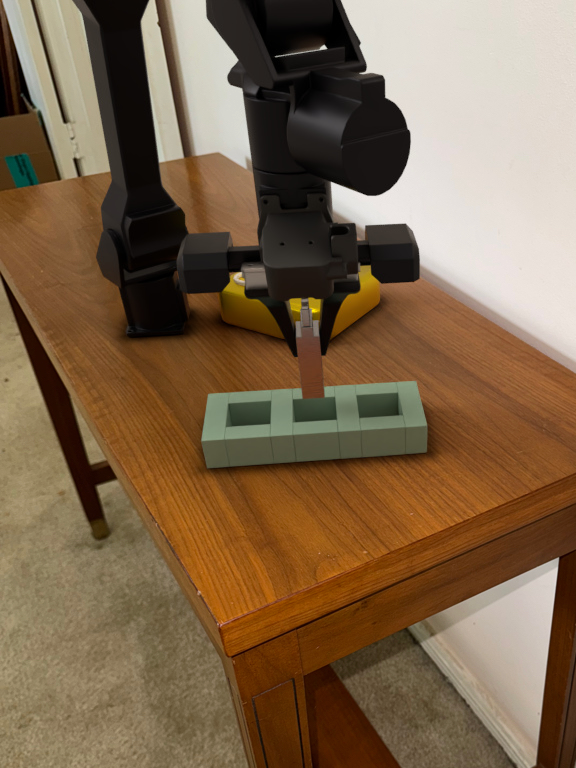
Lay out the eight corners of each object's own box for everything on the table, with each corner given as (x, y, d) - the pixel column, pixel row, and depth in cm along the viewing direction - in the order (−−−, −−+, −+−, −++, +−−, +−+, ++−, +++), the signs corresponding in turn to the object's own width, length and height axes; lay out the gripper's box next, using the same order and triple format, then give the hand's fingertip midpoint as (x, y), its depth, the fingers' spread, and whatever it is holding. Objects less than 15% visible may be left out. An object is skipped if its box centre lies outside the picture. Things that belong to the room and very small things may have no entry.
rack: (207, 468, 68) (201, 440, 67) (213, 420, 74) (208, 393, 72) (426, 453, 70) (427, 425, 68) (416, 406, 76) (416, 380, 74)
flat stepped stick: (302, 401, 67) (292, 310, 62) (301, 380, 70) (292, 292, 64) (325, 399, 68) (317, 309, 62) (323, 379, 70) (316, 290, 65)
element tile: (318, 350, 85) (315, 309, 82) (214, 321, 90) (207, 282, 87) (386, 300, 95) (385, 261, 92) (288, 276, 100) (284, 239, 97)
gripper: (147, 204, 49) (193, 411, 60) (431, 192, 51) (427, 395, 61) (167, 155, 58) (204, 344, 68) (411, 146, 59) (411, 332, 70)
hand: (309, 354), depth 67 cm, fingers closed on flat stepped stick, 2 cm apart
